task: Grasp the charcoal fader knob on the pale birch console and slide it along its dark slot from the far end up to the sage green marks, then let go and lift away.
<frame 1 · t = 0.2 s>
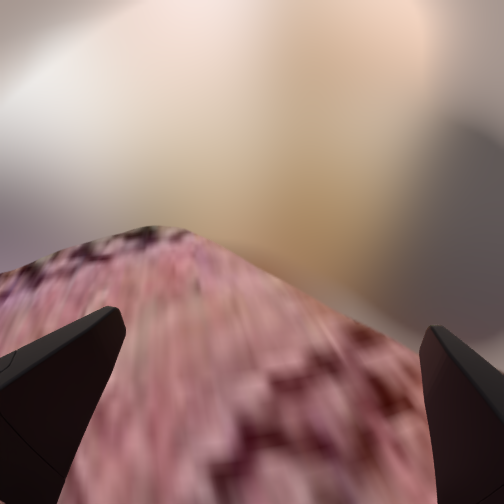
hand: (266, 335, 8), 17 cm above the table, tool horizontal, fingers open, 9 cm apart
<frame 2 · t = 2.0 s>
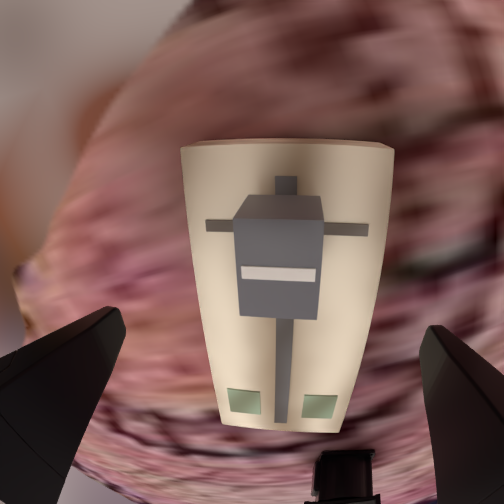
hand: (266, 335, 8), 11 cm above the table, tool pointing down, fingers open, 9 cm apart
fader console: (287, 308, 20), on the table
fader knob: (282, 248, 13), point 5 cm above the table, slide at 0.0 cm
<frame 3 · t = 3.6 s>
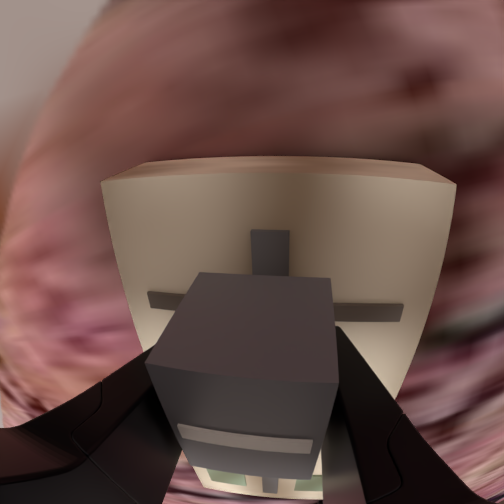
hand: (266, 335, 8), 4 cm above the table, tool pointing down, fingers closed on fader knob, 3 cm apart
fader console: (278, 382, 15), on the table
fader knob: (259, 368, 7), point 5 cm above the table, slide at 0.0 cm, touching gripper
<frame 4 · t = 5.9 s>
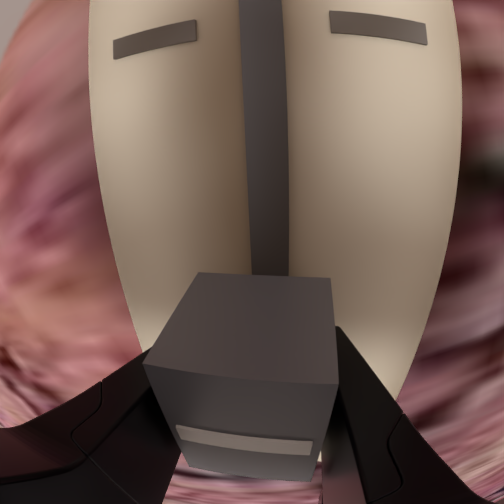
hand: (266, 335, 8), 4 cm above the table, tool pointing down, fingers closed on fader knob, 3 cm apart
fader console: (279, 242, 11), on the table
fader knob: (258, 369, 7), point 5 cm above the table, slide at 7.8 cm, touching gripper
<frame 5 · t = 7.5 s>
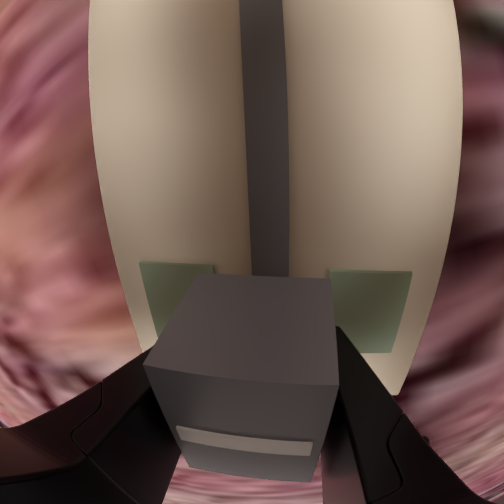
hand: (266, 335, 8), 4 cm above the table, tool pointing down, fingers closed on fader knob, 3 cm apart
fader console: (275, 71, 9), on the table
fader knob: (258, 370, 7), point 5 cm above the table, slide at 13.9 cm, touching gripper
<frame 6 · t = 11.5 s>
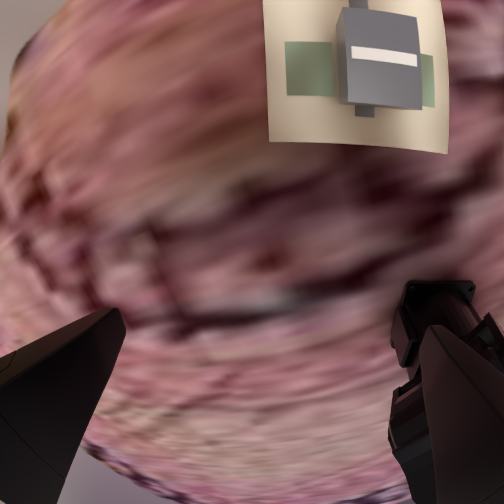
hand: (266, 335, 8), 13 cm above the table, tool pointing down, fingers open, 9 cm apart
fader knob: (373, 63, 11), point 5 cm above the table, slide at 14.0 cm
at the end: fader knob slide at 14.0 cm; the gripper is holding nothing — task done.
